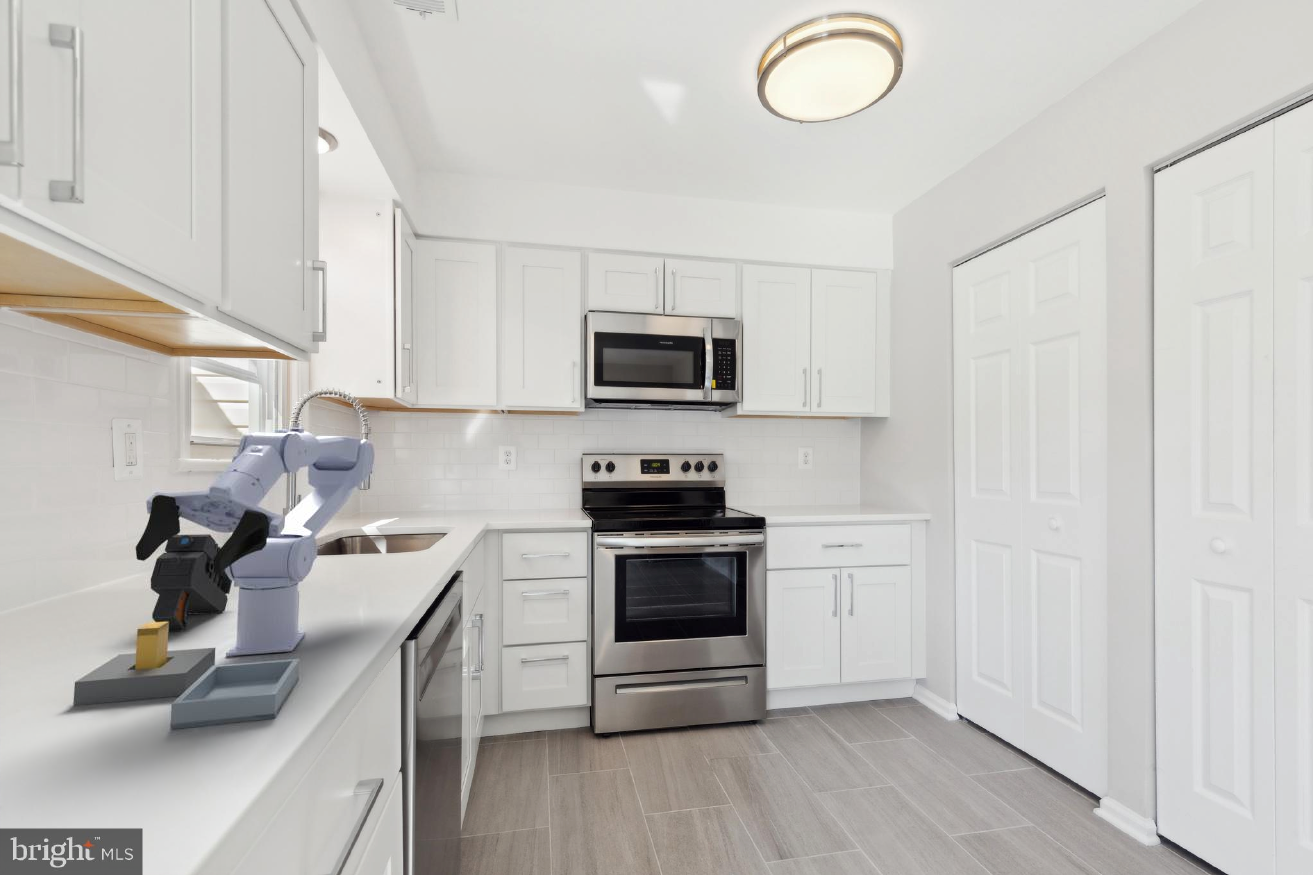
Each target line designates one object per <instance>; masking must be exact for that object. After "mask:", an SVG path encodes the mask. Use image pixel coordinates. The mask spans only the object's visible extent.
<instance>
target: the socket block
mask: <svg viewBox="0 0 1313 875" xmlns="http://www.w3.org/2000/svg"><path fill="white" fill-rule="evenodd" d="M215 663H216V647H206V648H205V647H204V648H192V649H176V650H167V663H166V664H165V665H163V666H162V667H161V668H150V669H137V670H135V664H136V652H135V653H134V652H133V653H123V654H118V655H116V656H115V657H113V658H112V659H110V660H108V661H107V662H105V663H103V664H101V665H100V666H99V667H97V668H95V669H94V670H92V671H90V672H89V673H87V674H86V675H84V676H82V677H81V678H79V679H78V680H76V681H74V690H73V702H72V704H73V707H74V706H83V705H93V704H103V703H114V702H115V703H116V702H117V703H118V702H127V701H138V700H145V699H146V700H148V699H150V700H151V699H159V698H168V697H169V698H170V697H171V698H172V697H180V696H181V695H182V694H183V693H184V692H185V691H186V690H187V689H188V688H189V687H190V686H191V685H193V684H194V683H195V682H196V681H197V680H198V679H199V678H200V677H201V676H202V675H203V674H204V673H205V672H207V671H208V670H209V669H210V668H211V667H212V666H216V665H215Z"/></svg>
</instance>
